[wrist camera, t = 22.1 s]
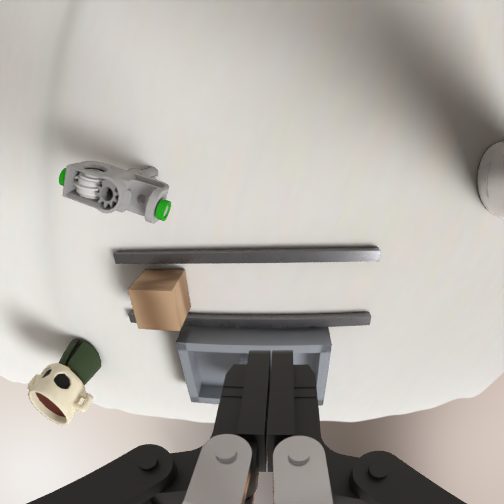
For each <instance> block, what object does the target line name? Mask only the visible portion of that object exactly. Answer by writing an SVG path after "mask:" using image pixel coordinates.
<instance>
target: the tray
mask: <svg viewBox="0 0 504 504" xmlns="http://www.w3.org/2000/svg"><path fill="white" fill-rule="evenodd" d="M176 344H177V349H178V353H179V357H180V361H181V365H182V369H183V373H184V377H185V380H186V384H187V388H188V392H189V395H190V399H191V402H198V403H210V404H219V402H220V398H221V393H222V389H223V384H224V380H225V375H226V373H227V372H228V371H229V370H230V368H231V367H232V366H233V365H234V364H239V363H240V357H241V354H249V350H270V351H271V354H272V350H293V365H304V364H308V365H309V366H310V368H311V369H312V371H313V372H314V373H315V376H316V386H317V387H316V388H317V399H318V405H323V401H324V395H325V388H326V382H327V375H328V368H329V361H330V353H331V345H332V344H331V339H330V334H329V329H328V327H298V328H239V327H202V326H183V328H182V330H181V332H180V335H179V337H178V339H177V341H176Z"/></svg>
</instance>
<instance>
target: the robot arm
mask: <svg viewBox="0 0 504 504" xmlns="http://www.w3.org/2000/svg"><path fill="white" fill-rule="evenodd" d="M478 191H479V195H480V198H481V201H482V202H483V204H484V206H485V207H486V209H487V210H488V211H490V212H491V213H492V214H494V215H496V216H498V217H499V218H501V219H503V220H504V142H498V143H495V144H493V145H492V146H491V147H489V148H488V150H487V151H486V152H485V153H484V155H483V157H482V159H481V162H480V166H479V170H478ZM316 387H317V386H316V376H315V373H314V372H313V371H312V369H311V368H310V366H309V365H308V364H304V365H293V350H272V361H271V351H270V350H249V355H248V362H247V365H245V364H234V365H233V366H232V367H231V368H230V370H229V371H228V372H227V373H226V375H225V380H224V384H223V389H222V393H221V398H220V402H219V407H218V411H217V416H216V421H215V425H214V430H213V433H212V436H211V438H210V439H209V440H208V441H207V442H206V443H205V444H204V445H203V446H201V447H200V448H198V449H195V450H192V451H186V452H179V453H169V452H168V451H167V450H166V449H164V448H163V447H161V446H158V445H153V444H146V445H141V446H138V447H137V448H135V449H133V450H131V451H129V452H128V453H126V454H124V455H122V456H121V457H119V458H117V459H115V460H114V461H112V462H110V463H108V464H107V465H105V466H103V467H101V468H99V469H97V470H95V471H94V472H92V473H90V474H88V475H86V476H84V477H82V478H80V479H78V480H76V481H74V482H72V483H70V484H68V485H66V486H64V487H62V488H60V489H58V490H56V491H54V492H52V493H50V494H47V495H45V496H43V497H41V498H38V499H36V500H34V501H32V502H29V503H27V504H254V500H255V495H256V489H257V485H258V475H259V471H261V472H266V463H267V456H268V472H273V504H466V503H465V502H463V501H461V500H460V499H458V498H457V497H455V496H454V495H452V494H450V493H449V492H447V491H446V490H444V489H442V488H441V487H439V486H438V485H437V484H435V483H433V482H432V481H431V480H429V479H428V478H426V477H425V476H423V475H422V474H420V473H419V472H417V471H416V470H414V469H413V468H412V467H410V466H409V465H407V464H406V463H404V462H403V461H402V460H400V459H398V458H397V457H396V456H395V455H392V454H391V453H389V452H385V451H373V452H369V453H367V454H364V455H363V456H361V457H360V458H358V457H352V456H346V455H341V454H338V453H336V452H334V451H332V450H330V449H329V448H328V447H327V446H326V445H325V444H324V442H323V441H322V438H321V433H320V420H319V408H318V399H317V388H316Z"/></svg>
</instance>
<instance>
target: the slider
mask: <svg viewBox="0 0 504 504" xmlns="http://www.w3.org/2000/svg"><path fill="white" fill-rule="evenodd" d="M128 291H129V295H130V299H131V303H132V307H133V311H134V314H135V318H136V322H137V325H138V328H139V329H152V330H167V331H180V329H181V327H182V325H183V323H184V321H185V319H186V316H187V314H188V312H189V310H190V308H191V305H190V299H189V292H188V286H187V280H186V273H185V269H145V270H144V272H143V273H142V274H141V275H140V276H139V277H138V278H137V279H136V280H135V282H134V283H133V284H132V285H131V286H130V287H129V289H128Z"/></svg>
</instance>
